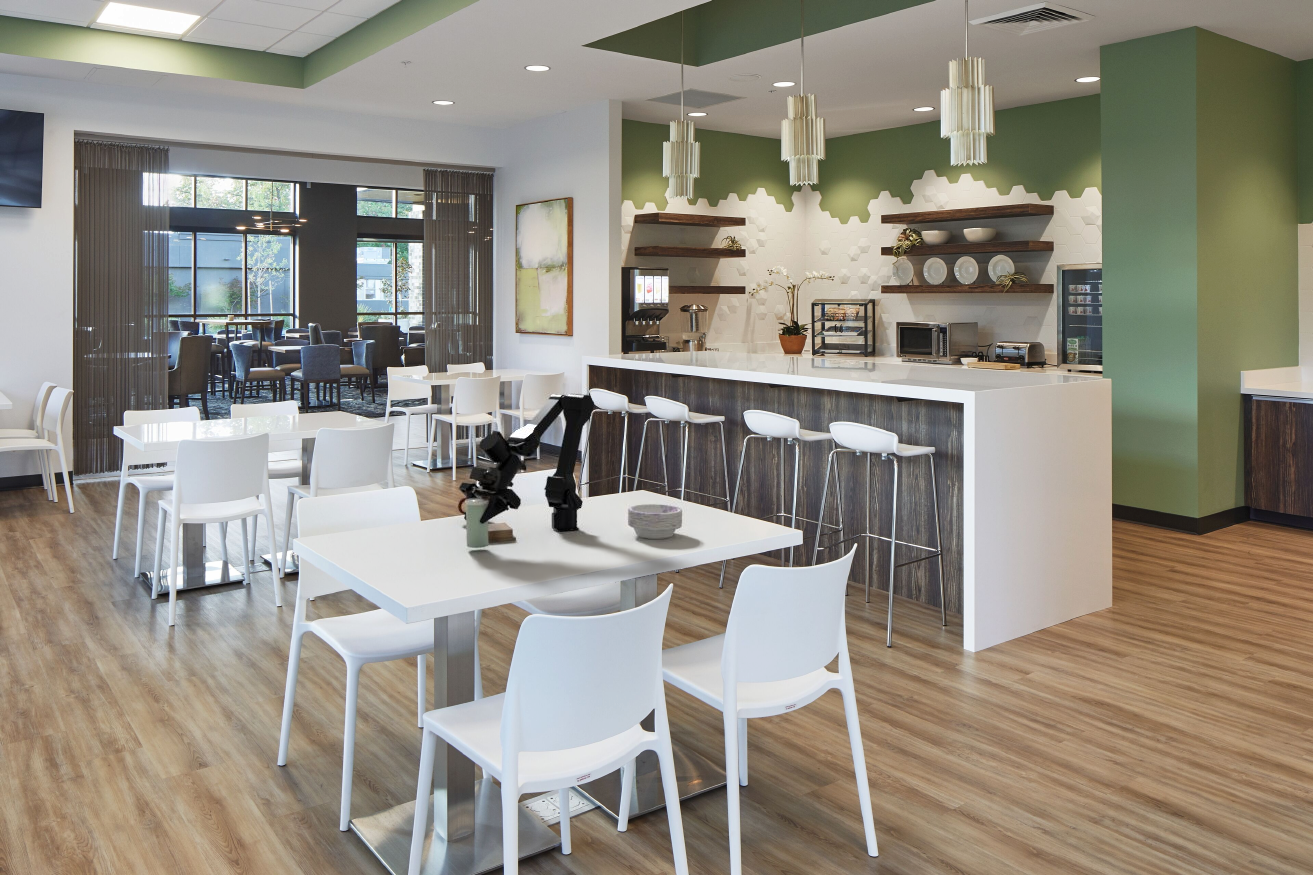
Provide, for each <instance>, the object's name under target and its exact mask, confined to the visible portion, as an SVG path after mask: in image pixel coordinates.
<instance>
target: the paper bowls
mask: <svg viewBox="0 0 1313 875" xmlns="http://www.w3.org/2000/svg"><path fill="white" fill-rule="evenodd" d="M627 525H628V526H629V527H630V528H633V529H634V532H635V535H637V536H638V537H639V538H643V539H646V538H647V539H648V540H665V539H669V538H670V537H672V536H674V534H675V533H676V530H678V529H681V528H682V526H683V509H682V508H681V507H679V506H675V505H671V504H661V503H660V504H659V503H656V504H655V503H647V504H646V503H643V504H642V503H641V504H636V505H635V504H634V505H631V506H629V507H628V508H627ZM647 539H646V540H647Z"/></svg>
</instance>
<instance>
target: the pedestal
mask: <svg viewBox="0 0 1313 875" xmlns="http://www.w3.org/2000/svg"><path fill="white" fill-rule="evenodd" d="M513 531H514V529H513V528H512V527H511V526H510V525H508V524H507V522H496V523H488V541H489V544H490V543H501V542H513V541H517V537H516V536H515V535H514V532H513Z"/></svg>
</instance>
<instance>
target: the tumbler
mask: <svg viewBox="0 0 1313 875" xmlns="http://www.w3.org/2000/svg"><path fill="white" fill-rule="evenodd" d="M464 504H465V512H466V520H465V522H466V523H465V526H466V529H465V530H466V547H468V548H470V549H471V548H472V549H477V548H478V549H482V548H485V547H489V544H490V543H489V541H488V524H489V520H488V521H487V522H485V523H483V524H481V523H480V519H481V517H482V515H483V513H484V512H485V510H486V508H487V506H488V499H486V498H471V499H466V500H465V502H464Z"/></svg>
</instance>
